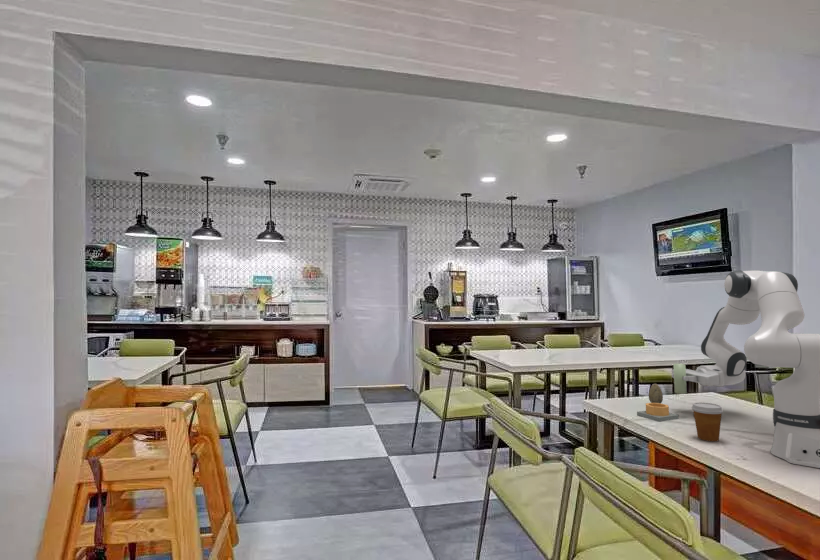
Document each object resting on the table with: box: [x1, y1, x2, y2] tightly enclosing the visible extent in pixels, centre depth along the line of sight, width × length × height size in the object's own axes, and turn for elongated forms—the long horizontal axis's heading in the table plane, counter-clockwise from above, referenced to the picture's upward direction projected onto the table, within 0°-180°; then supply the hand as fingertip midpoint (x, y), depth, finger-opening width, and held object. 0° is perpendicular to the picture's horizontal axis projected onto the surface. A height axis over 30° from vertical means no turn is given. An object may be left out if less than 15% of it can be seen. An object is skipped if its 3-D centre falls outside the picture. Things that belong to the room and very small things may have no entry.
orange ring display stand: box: [636, 402, 679, 422], centre depth 190 cm, size 11×11×5 cm
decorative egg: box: [648, 383, 664, 404], centre depth 211 cm, size 6×6×10 cm
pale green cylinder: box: [673, 363, 688, 395], centre depth 190 cm, size 4×4×12 cm
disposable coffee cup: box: [691, 402, 724, 442], centre depth 160 cm, size 10×10×12 cm
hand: (678, 377), depth 190 cm, fingers closed on pale green cylinder, 4 cm apart
